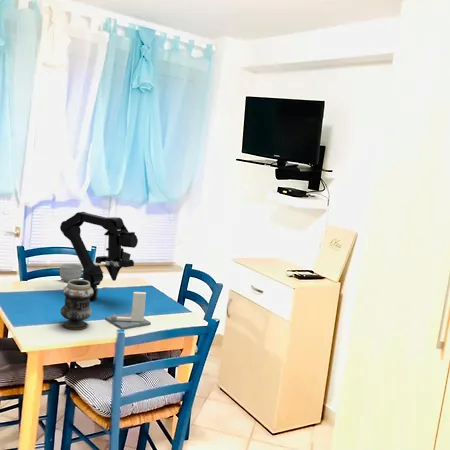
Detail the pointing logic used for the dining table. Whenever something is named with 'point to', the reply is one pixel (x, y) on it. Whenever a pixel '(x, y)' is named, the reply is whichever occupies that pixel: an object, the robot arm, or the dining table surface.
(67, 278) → the teacup
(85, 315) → the grey ornate vase
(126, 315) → the dial board
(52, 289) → the dining table surface
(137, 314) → the dial crank handle
